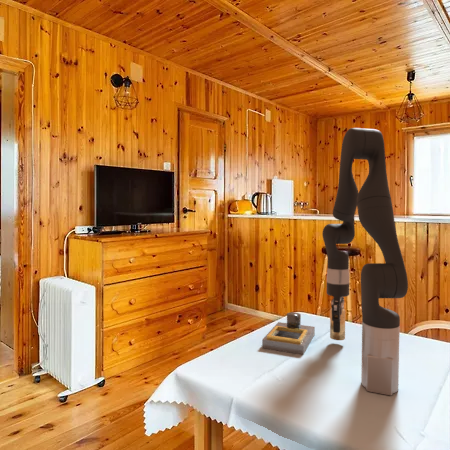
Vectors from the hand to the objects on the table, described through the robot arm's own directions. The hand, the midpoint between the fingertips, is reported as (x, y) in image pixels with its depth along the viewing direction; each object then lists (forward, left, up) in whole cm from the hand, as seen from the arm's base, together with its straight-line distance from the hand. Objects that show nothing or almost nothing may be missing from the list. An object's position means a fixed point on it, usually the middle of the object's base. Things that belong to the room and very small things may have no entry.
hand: (337, 329), depth 128 cm
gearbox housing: (-4, +16, -5) cm, 17 cm away
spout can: (0, 0, -3) cm, 3 cm away
